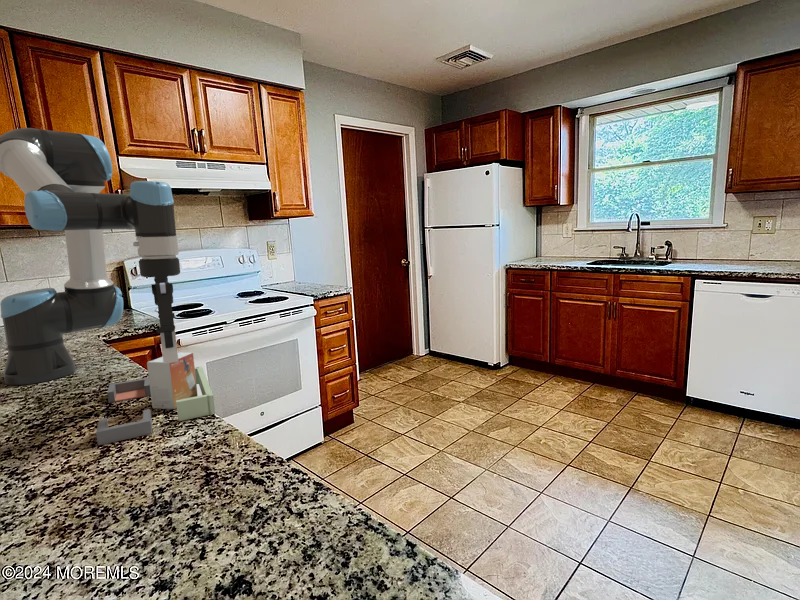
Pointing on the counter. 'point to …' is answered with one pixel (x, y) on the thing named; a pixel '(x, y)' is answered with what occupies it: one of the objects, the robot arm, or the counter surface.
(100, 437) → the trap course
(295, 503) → the counter surface
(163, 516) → the counter surface
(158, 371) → the small box
